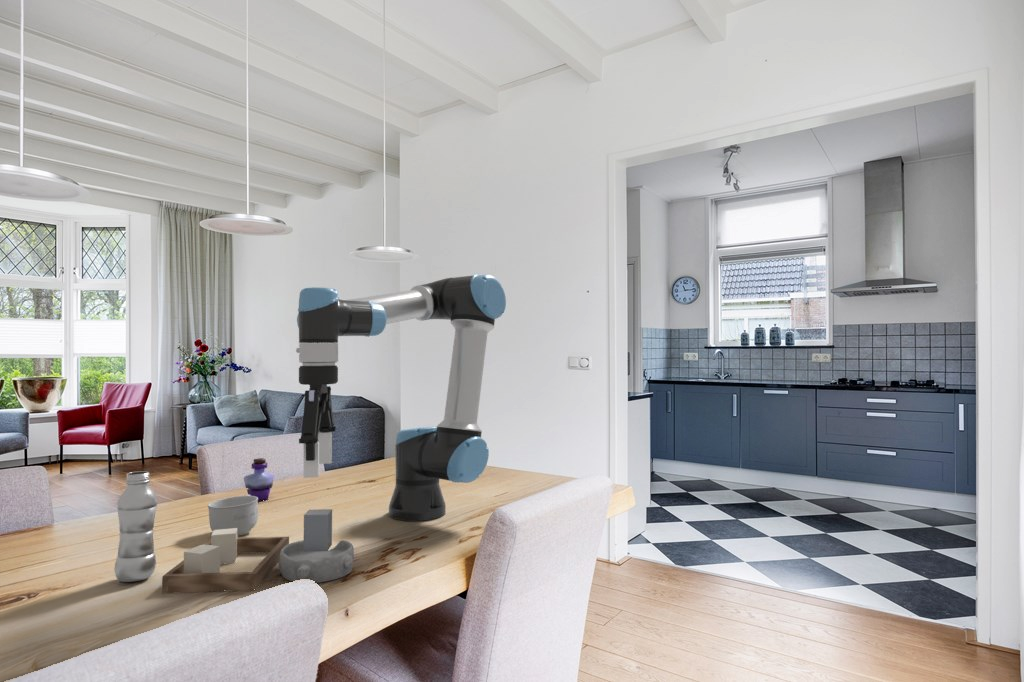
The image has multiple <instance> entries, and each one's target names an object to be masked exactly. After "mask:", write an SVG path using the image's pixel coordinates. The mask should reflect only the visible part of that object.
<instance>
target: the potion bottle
mask: <svg viewBox="0 0 1024 682" xmlns="http://www.w3.org/2000/svg"><path fill="white" fill-rule="evenodd" d="M266 461H267V460H266V458H264V457H263V458H262V457H259V458H255V459H253V462H251V469H252V470H253V473H251V474H248V475H245V476H244V477H243V482H244V485H245V489H246V491H247V495H251V496H256V497H258V503H263V502H265V501H266V500H267V501H269V499H268V498H269V497H270V494H271V493H270V492H271V489H272V488H273V485H274V479H275V475H276V474H273V473H269V472H266V469H267V468H268V462H266ZM263 500H264V501H263ZM267 501H266V502H267Z"/></svg>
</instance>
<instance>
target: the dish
mask: <svg viewBox="0 0 1024 682" xmlns="http://www.w3.org/2000/svg"><path fill="white" fill-rule="evenodd" d="M303 548H304V539H302V540H297V541H293V542H291V543H289V544H288V545H286V546H285V547H284V548H283V549H282V550H281V552H280V559H279V563H278V564H279V571H280V575H281V576H282V578H284V579H286V580H287V581H290V582H293V581H295V580H300V579H310V580H313V581H315V582H316V583H315V584H319V583H320V584H321V583H325V582H330V581H333V580H338V579H341V578H343V577H346V576H347V575H349V573H351V572H352V571H353V567H354V562H355V551H354V550H355V549H354V545H353V544H352V543H351V541H348V540H344V539H341V540H339V541H338V543H337V544H336V546H334V547H333V548H331V549H328V551H312V552H303Z"/></svg>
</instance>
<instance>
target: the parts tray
mask: <svg viewBox="0 0 1024 682" xmlns="http://www.w3.org/2000/svg"><path fill="white" fill-rule="evenodd" d="M288 544H290V535H288V536H256V537H253V536H251V537H250V536H249V537H247V536H246V537H237V554H256V553H257V554H258V553H261V554H262V553H268V554H266V556H264V558H263V559H261V561H260V562H259V563H258V564H257V566H255V568H254V569H253V570H252V571H232V572H231V571H230V572H229V571H226V572H219V573H188V574H184V559H183V560H181V562H179V563H178V564H177V565H175V566H174V567H173V568H171V569H170V570H169V571H168V572H166V573H165V574H164V575H162V577H161V580H162V581H161V593H162V594H174V593H173V592H180V593H181V592H182V593H184V592H186V593H208V592H209V591H217V592H225V591H224V590H229V591H228V592H235V591H234V590H248V591H257V589H258V588H259V587H260V586H261V584H262V583H263V582H264V581H265V580H264V579H267V577H268V576H269V575H270V574H271V572H272V571H273V570H274V569H275V568H276V566H278V564H279V559H280V552H281V550H282V549H283V548H284V547H285V546H286V545H288ZM204 545H211V539H210V540H208V541H207V542H205V543H204ZM262 581H263V582H262ZM258 586H259V587H258ZM257 587H258V588H257ZM256 588H257V589H256ZM254 589H255V590H254ZM230 590H231V591H230ZM182 593H181V594H182ZM209 593H210V592H209ZM184 594H185V593H184Z"/></svg>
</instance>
